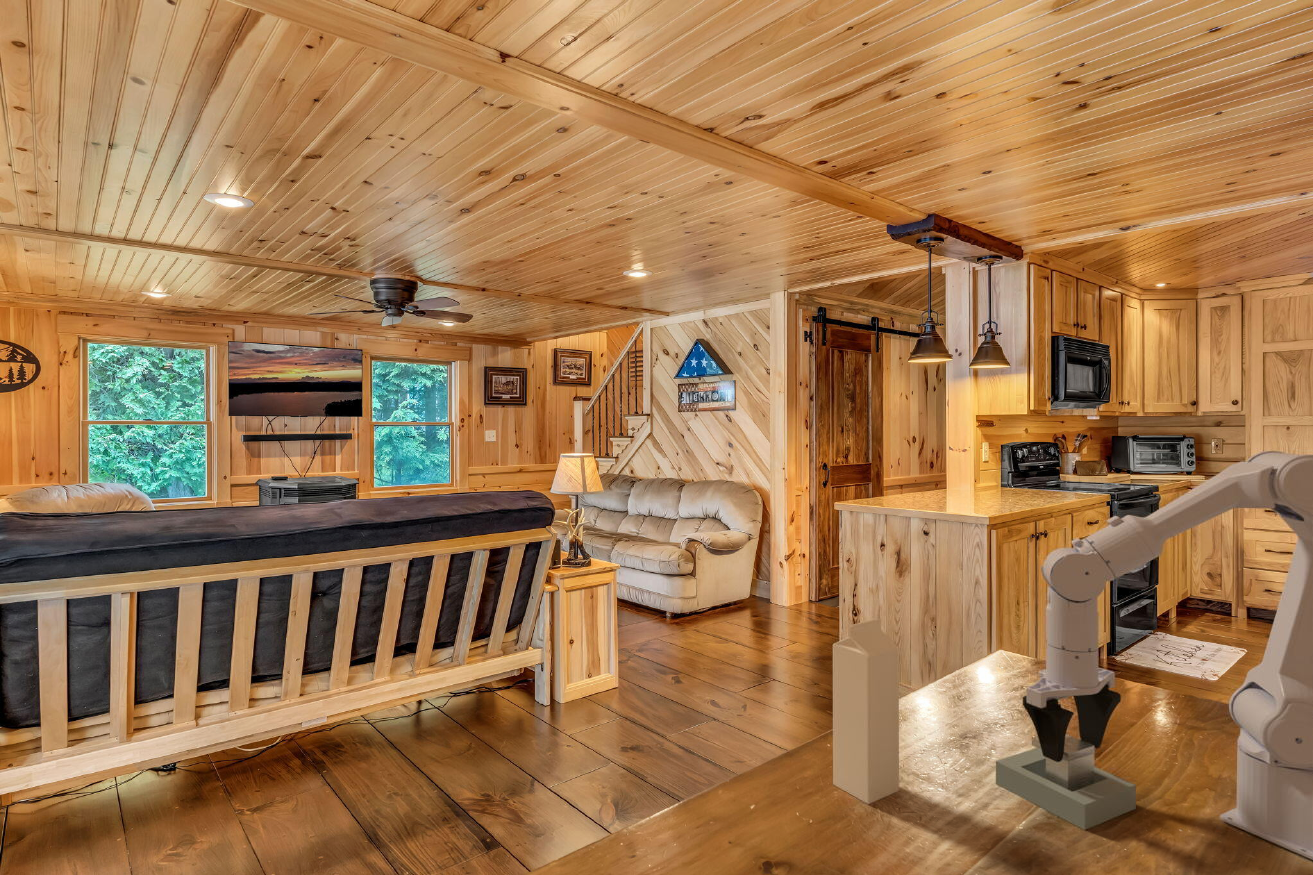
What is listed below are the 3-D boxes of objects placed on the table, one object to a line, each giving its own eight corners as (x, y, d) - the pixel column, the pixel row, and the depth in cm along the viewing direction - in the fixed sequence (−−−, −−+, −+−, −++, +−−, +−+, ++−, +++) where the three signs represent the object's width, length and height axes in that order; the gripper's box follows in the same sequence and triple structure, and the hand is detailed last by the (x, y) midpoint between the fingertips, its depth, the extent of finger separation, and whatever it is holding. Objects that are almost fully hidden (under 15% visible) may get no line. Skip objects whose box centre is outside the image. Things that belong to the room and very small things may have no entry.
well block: (1135, 808, 88) (1135, 784, 88) (1084, 829, 84) (1084, 804, 84) (1045, 766, 99) (1045, 744, 99) (995, 783, 94) (995, 761, 94)
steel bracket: (1094, 800, 90) (1094, 745, 90) (1067, 809, 88) (1068, 753, 88) (1057, 782, 95) (1057, 730, 95) (1031, 790, 93) (1031, 737, 92)
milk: (899, 791, 93) (900, 623, 92) (867, 805, 90) (869, 631, 89) (862, 771, 98) (863, 612, 97) (831, 784, 95) (832, 619, 94)
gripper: (1077, 628, 97) (1077, 727, 97) (1004, 644, 90) (1004, 751, 91) (1131, 642, 90) (1131, 748, 91) (1057, 661, 84) (1057, 775, 84)
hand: (1071, 751), depth 90 cm, fingers open, 7 cm apart
